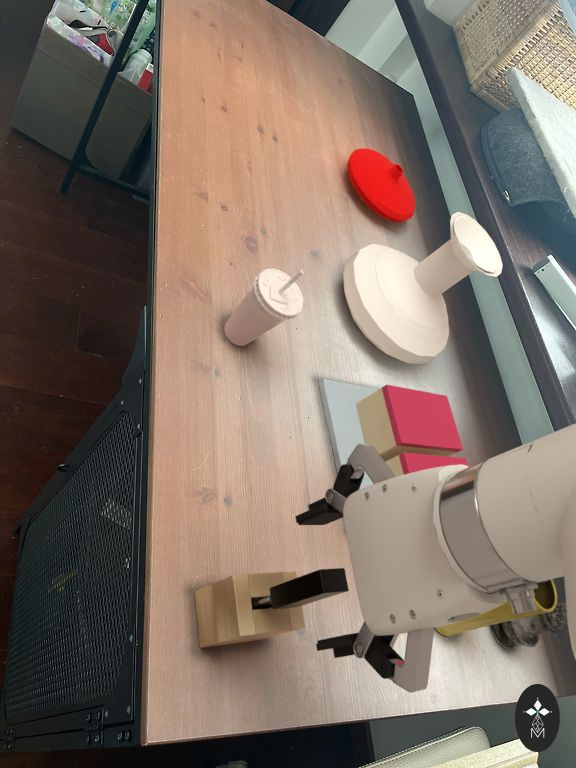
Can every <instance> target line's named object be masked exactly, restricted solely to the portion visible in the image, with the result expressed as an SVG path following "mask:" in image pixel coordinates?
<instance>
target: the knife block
mask: <svg viewBox="0 0 576 768" xmlns="http://www.w3.org/2000/svg"><path fill="white" fill-rule="evenodd" d="M295 578H298V576H297V571H281V572H266V573H264V572H263V573H249V574H246V573H245V574H233V575H231V576H227V577H226V578H223V579H220V580H218V581H216V582H214V583H211V584H208V585H207V586H204V587H202V588H199V589H197V590H195V591H194V602H195V611H196V624H197V633H198V644H199V648H200V649H203V648H210V647H217V646H218V647H219V646H224V645H231V644H240V643H247V642H254V641H261V640H266V639H270V638H272V637H273V638H274V637H277V636H280V635H284V634H285V635H286V634H288V633H291V632H296V631H300V630H303V629H306V623H305V617H304V611H303V605H302V606H299V607H294V608H284V609H274V610H273V609H272V606H271V607H268V608H265V609H257V610H252V603H253V602H256V601H259V600H262V599H265V598H267V597H271V595H270V587H273V586H276V585H279V584H281V583H284V582H287V581H290V580H292V579H295Z"/></svg>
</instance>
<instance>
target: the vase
mask: <svg viewBox="0 0 576 768" xmlns="http://www.w3.org/2000/svg"><path fill="white" fill-rule="evenodd" d="M537 585H538V588H537V589H533V591H534V594H535V597H533V599H534V602H535V605H536V609H537V610H535V611H530V612H525V613H519V614H513V611H512V607H511V604H510V601H507V602H506V603H504V604H502V605H500V606H499V607H497V608H495V609H493V610H490V611H488V612H485V613H483V614H481V615H478V616H475V617H473V618H470V619H466V620H463V621H460V622H456V623H453V624H449V625H445V626H441V627H437V628H435V629H436V631H437V632H438V633H440V634H441V635H443V636H444V637H449V638H450V637H454V636H457V635H459V634H461V633H464V632H468V631H474V630H476V629H481V628H486V627H488V626H489V627H490V625H493V624H498V623H502V622H506V621H511V620H516V619H520V618H525V617H530V616H534V615H537V614H542V613H547V612H552V611H553V610H554V609H555V607H556V605H557V604H558V592H557V587H556V585H555V582H554V579H550V580H548V581H546V582H541V583H537Z"/></svg>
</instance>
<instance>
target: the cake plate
mask: <svg viewBox="0 0 576 768" xmlns="http://www.w3.org/2000/svg"><path fill="white" fill-rule="evenodd" d="M318 386H319V391H320V396H321V400H322V406H323V411H324V414H325V415H324V416H325V420H326V425H327V430H328V434H329V440H330V444H331V448H332V454H333V459H334V463H335V469H336V473H337V474H338V472H339V469H340V467H341V466H342V465H343V464H346V463H347V462H348V460H347V459H348V458H349V456H350V455H351V453H352V452H353V450H354V449H355V447H356V446H357V445H358V444H365V440H364V436H363V432H362V428H361V423H360V419H359V415H358V410H357V406H356V403H358V402H360V401H361V400H363V399H364V398H366V397H368V396H369V395H371V394H372V393H374V392H376V391H377V390H379V389H380V388H377V387H370V386H366V385H359V384H355V383H354V384H353V383H349V382H344V381H339V380H332V379H328V378H327V379H326V378H322V379H320V380H319V381H318ZM448 457H451V455H450V456H448ZM385 462H386V461H385ZM373 484H374V483H373V482H372V481H371V479H370V478H369V476H368V475H367V473H366V472H365V471H364V477H363V480H362V483H361V486H360V488H359V490H360V489H362V488H365V487H367V486H370V485H373Z"/></svg>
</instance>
